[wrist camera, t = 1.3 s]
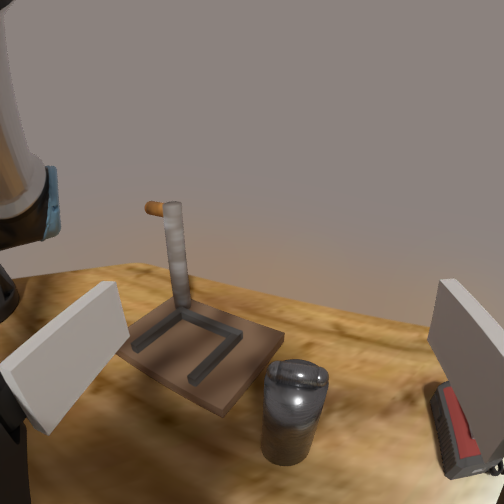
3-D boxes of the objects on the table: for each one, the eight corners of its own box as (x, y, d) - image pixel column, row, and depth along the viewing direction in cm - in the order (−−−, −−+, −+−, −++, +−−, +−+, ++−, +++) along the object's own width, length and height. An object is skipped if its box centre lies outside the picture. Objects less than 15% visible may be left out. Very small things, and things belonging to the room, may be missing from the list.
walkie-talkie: (508, 475, 16) (468, 356, 34) (532, 453, 14) (479, 331, 32) (443, 492, 17) (415, 357, 35) (466, 472, 15) (426, 331, 33)
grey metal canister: (255, 460, 23) (257, 385, 19) (267, 423, 27) (273, 340, 23) (305, 469, 22) (329, 397, 17) (313, 431, 26) (334, 349, 21)
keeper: (102, 344, 37) (70, 229, 30) (169, 297, 48) (156, 196, 41) (223, 417, 28) (209, 277, 21) (283, 341, 39) (292, 219, 32)
